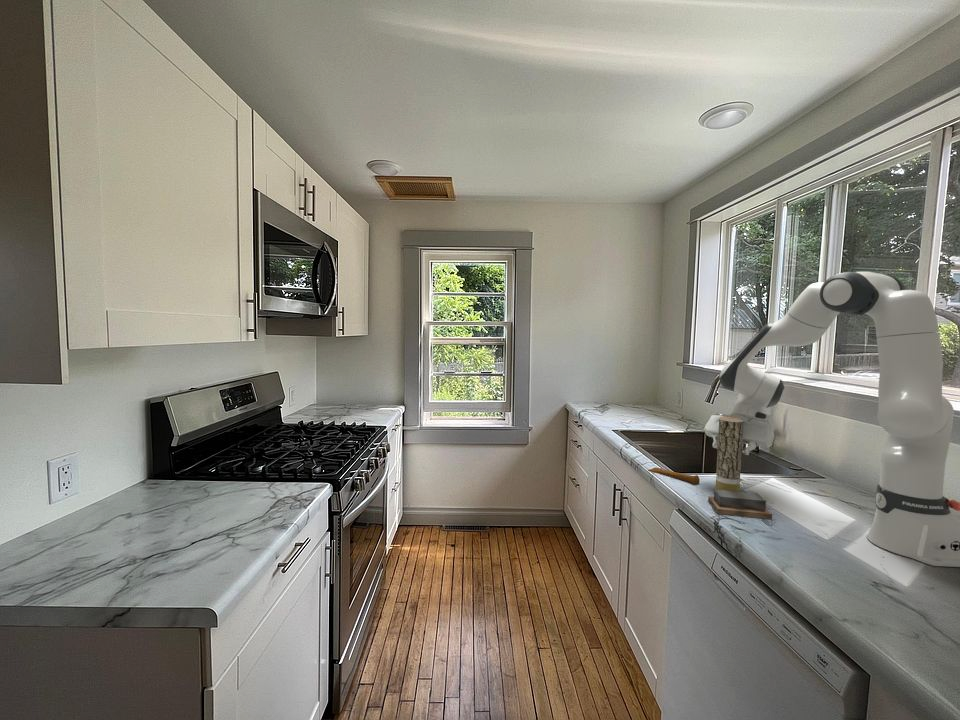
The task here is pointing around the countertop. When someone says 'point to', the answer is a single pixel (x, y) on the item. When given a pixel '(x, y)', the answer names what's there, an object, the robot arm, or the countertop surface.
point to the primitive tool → (677, 475)
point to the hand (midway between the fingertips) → (729, 450)
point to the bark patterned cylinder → (729, 453)
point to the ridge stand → (739, 504)
